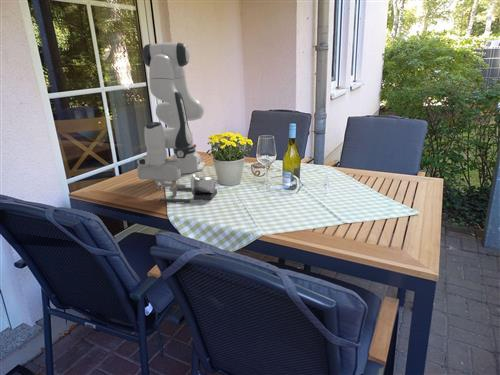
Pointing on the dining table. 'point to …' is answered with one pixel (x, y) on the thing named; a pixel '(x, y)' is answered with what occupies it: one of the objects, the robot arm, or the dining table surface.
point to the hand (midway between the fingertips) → (161, 188)
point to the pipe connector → (174, 186)
